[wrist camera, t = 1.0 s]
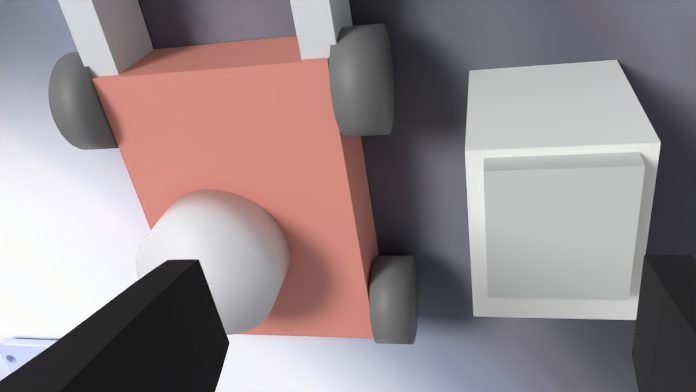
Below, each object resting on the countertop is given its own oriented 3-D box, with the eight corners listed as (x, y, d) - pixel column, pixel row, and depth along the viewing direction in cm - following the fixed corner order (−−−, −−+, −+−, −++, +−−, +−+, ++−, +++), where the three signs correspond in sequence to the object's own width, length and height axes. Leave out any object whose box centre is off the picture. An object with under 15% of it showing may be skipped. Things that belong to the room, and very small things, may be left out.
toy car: (420, 302, 23) (408, 392, 19) (189, 298, 25) (141, 377, 21) (348, -325, 13) (300, -373, 10) (-13, -239, 15) (-157, -252, 12)
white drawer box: (603, 209, 19) (641, 337, 14) (475, 212, 20) (472, 332, 15) (616, 59, 17) (668, 156, 12) (469, 70, 17) (464, 163, 13)
